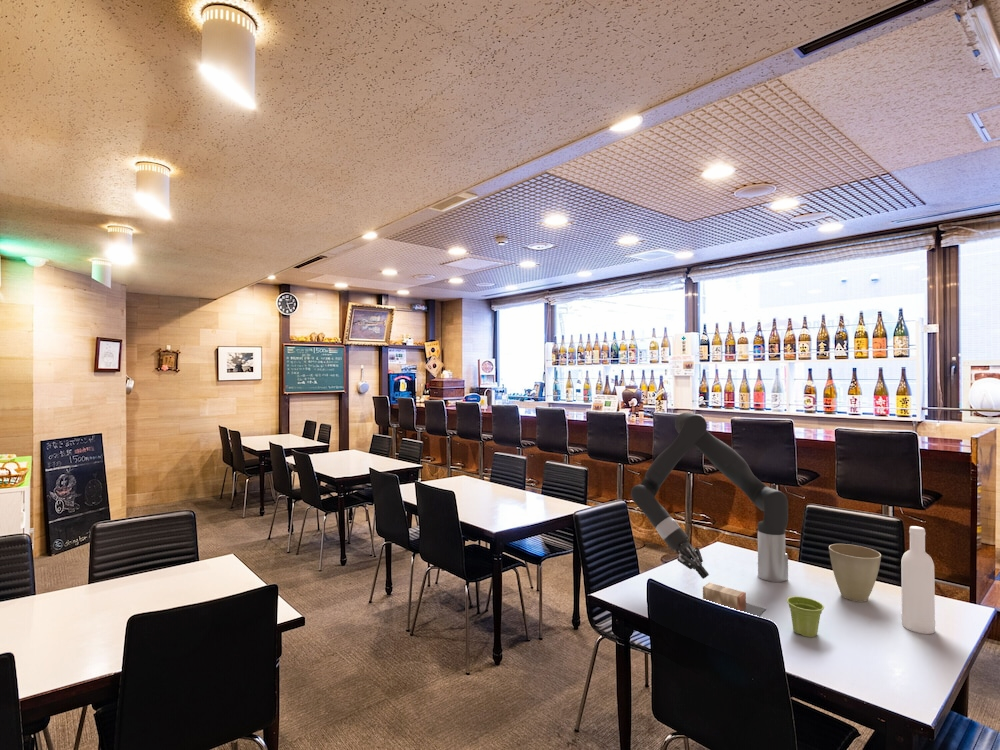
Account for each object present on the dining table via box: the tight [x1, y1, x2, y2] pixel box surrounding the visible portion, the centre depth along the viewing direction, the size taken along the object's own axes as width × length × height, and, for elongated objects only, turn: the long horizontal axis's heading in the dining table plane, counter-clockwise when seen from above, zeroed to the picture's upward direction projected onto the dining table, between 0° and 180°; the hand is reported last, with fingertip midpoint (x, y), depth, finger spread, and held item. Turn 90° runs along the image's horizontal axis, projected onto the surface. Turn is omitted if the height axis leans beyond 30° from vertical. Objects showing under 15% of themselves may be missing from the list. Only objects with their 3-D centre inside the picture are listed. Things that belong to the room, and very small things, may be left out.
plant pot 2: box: [828, 543, 882, 603], centre depth 179 cm, size 15×15×16 cm
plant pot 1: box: [786, 596, 825, 638], centre depth 155 cm, size 9×9×9 cm
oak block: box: [702, 582, 747, 611], centre depth 173 cm, size 5×5×12 cm
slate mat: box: [743, 602, 767, 617], centre depth 171 cm, size 16×13×1 cm
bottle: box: [900, 525, 936, 635], centre depth 157 cm, size 8×8×30 cm
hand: (706, 576), depth 177 cm, fingers closed
